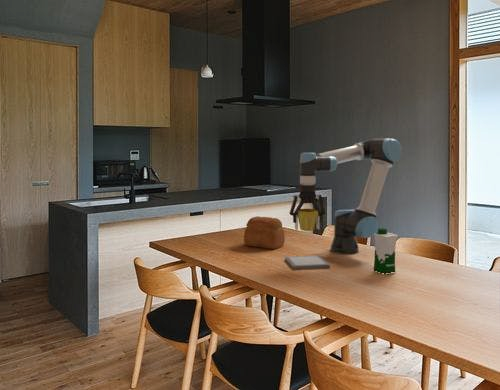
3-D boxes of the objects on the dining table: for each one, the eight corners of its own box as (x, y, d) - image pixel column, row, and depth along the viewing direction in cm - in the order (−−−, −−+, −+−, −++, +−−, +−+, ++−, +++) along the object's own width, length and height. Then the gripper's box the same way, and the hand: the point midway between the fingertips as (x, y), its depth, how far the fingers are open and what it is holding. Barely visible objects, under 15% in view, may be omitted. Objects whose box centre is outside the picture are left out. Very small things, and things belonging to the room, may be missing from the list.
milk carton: (384, 268, 215) (385, 227, 212) (398, 273, 207) (400, 230, 204) (370, 270, 211) (371, 229, 208) (384, 275, 203) (386, 232, 200)
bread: (273, 251, 249) (273, 221, 247) (241, 246, 260) (240, 217, 259) (287, 244, 264) (287, 216, 262) (256, 240, 275) (256, 213, 273)
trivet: (318, 258, 233) (318, 255, 233) (329, 267, 216) (329, 264, 215) (285, 259, 231) (285, 256, 230) (293, 269, 213) (293, 266, 213)
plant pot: (317, 232, 215) (317, 211, 214) (295, 231, 217) (295, 211, 216) (318, 227, 225) (318, 208, 224) (297, 227, 227) (297, 208, 226)
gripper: (327, 183, 224) (327, 226, 226) (283, 183, 221) (283, 228, 223) (332, 184, 216) (331, 229, 219) (286, 185, 213) (286, 231, 216)
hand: (307, 229), depth 221 cm, fingers closed on plant pot, 10 cm apart
